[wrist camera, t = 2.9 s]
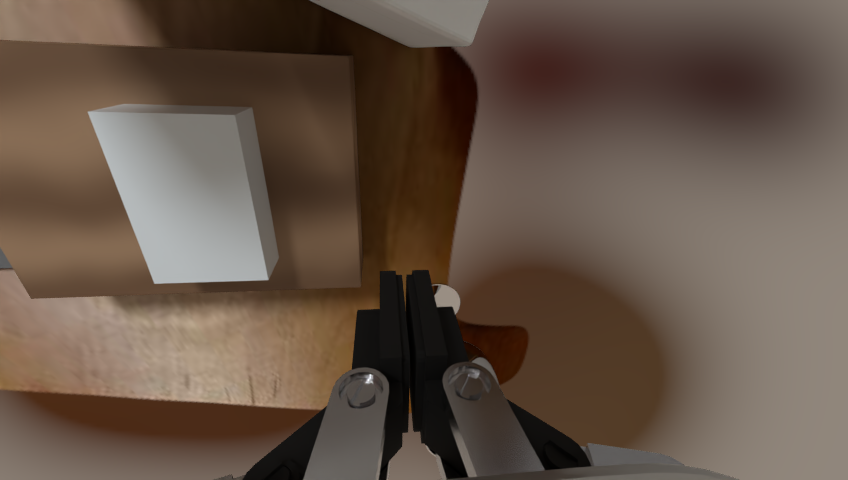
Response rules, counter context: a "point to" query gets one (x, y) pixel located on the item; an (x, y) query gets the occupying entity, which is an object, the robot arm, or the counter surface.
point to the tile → (191, 189)
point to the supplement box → (415, 19)
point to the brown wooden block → (171, 85)
